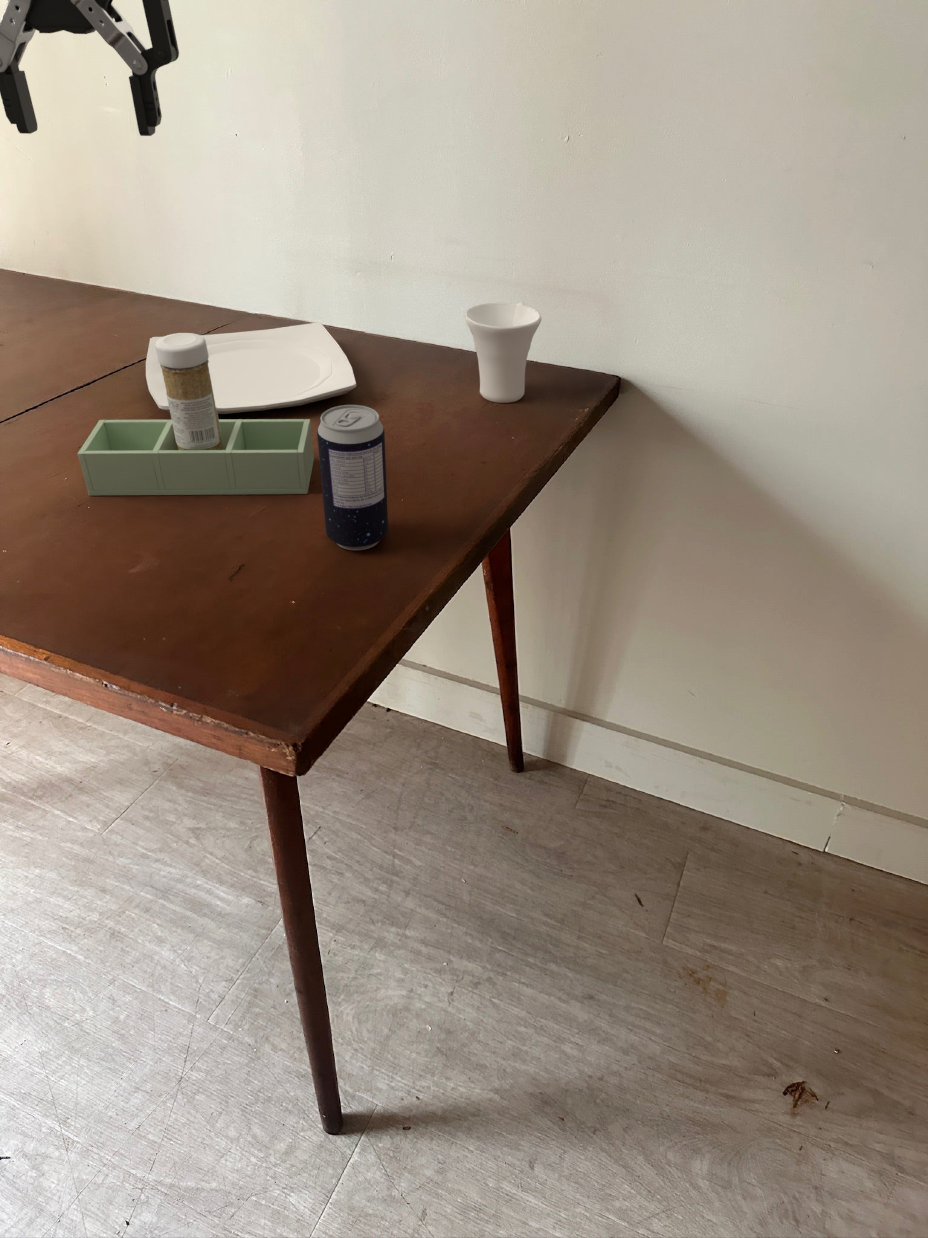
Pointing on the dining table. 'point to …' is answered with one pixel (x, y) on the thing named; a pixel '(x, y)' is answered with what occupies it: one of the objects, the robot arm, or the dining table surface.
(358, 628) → the dining table surface
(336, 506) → the beverage can
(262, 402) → the plate
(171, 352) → the spice jar
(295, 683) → the dining table surface
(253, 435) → the tray
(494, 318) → the cup
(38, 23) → the robot arm
